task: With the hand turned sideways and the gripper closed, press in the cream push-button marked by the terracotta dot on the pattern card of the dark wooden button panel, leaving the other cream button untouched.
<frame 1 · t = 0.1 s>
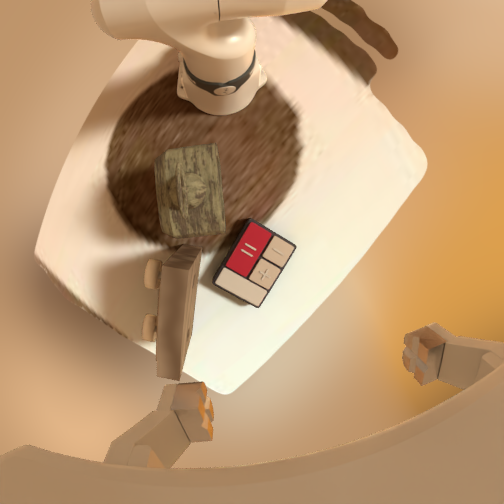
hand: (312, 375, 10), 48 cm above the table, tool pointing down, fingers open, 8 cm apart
button panel: (178, 289, 58), on the table
calculator: (253, 261, 59), on the table
tabletop clock: (200, 192, 55), on the table
button 1: (165, 276, 48), point 9 cm above the table, slide at 0.0 cm
button 2: (162, 330, 50), point 9 cm above the table, slide at 0.0 cm
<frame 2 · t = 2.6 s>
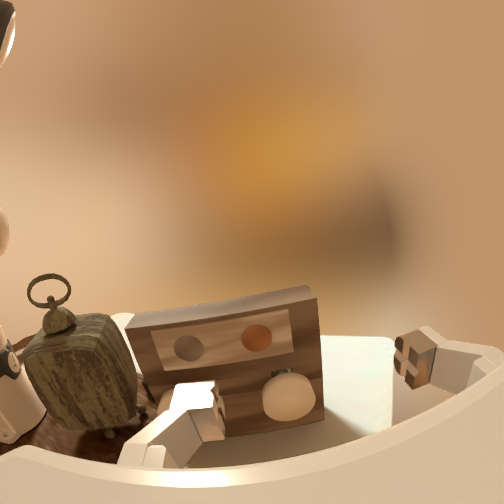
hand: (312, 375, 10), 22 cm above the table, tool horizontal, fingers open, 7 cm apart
button panel: (248, 434, 30), on the table
tabletop clock: (113, 429, 32), on the table
button 1: (185, 398, 27), point 9 cm above the table, slide at 0.0 cm
button 2: (284, 384, 27), point 9 cm above the table, slide at 0.0 cm
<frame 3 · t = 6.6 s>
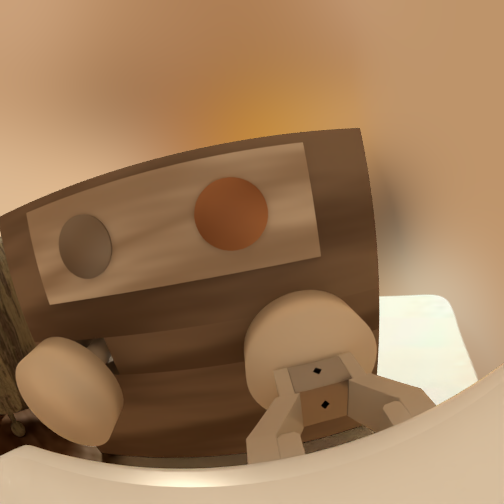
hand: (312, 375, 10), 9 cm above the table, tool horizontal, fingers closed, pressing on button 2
button panel: (226, 454, 15), on the table
tabletop clock: (28, 424, 16), on the table
button 1: (86, 368, 12), point 9 cm above the table, slide at 0.0 cm
button 2: (297, 331, 13), point 9 cm above the table, slide at 1.0 cm, touching gripper
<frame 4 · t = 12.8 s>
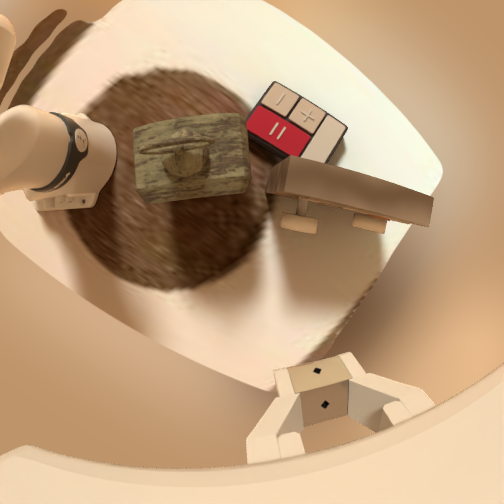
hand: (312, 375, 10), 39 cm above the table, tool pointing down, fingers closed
button panel: (321, 203, 48), on the table
calculator: (292, 131, 45), on the table
tabletop clock: (203, 170, 45), on the table
button 1: (302, 206, 39), point 9 cm above the table, slide at 0.0 cm
button 2: (372, 208, 39), point 9 cm above the table, slide at 2.1 cm
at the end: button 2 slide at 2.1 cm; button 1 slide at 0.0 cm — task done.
